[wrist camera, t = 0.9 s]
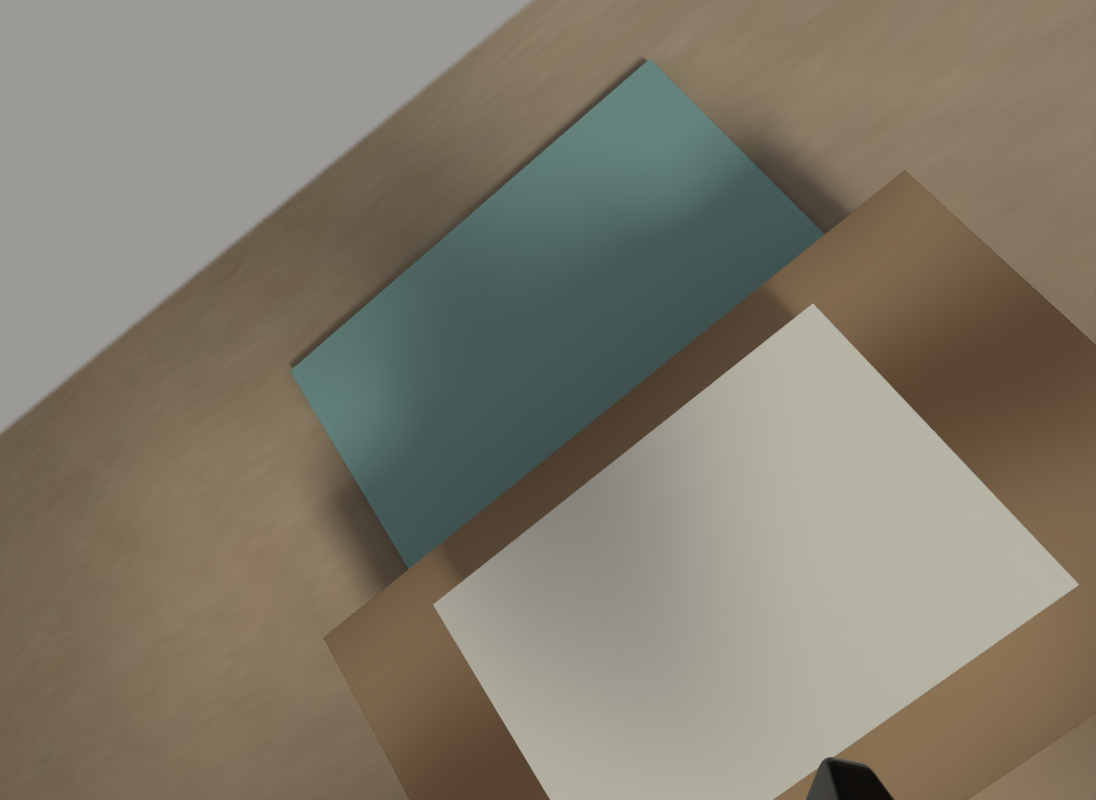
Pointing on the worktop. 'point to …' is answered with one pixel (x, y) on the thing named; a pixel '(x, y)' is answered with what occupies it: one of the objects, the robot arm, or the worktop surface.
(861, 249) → the brown box
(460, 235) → the mat
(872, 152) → the worktop surface
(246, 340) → the worktop surface
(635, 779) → the white block
